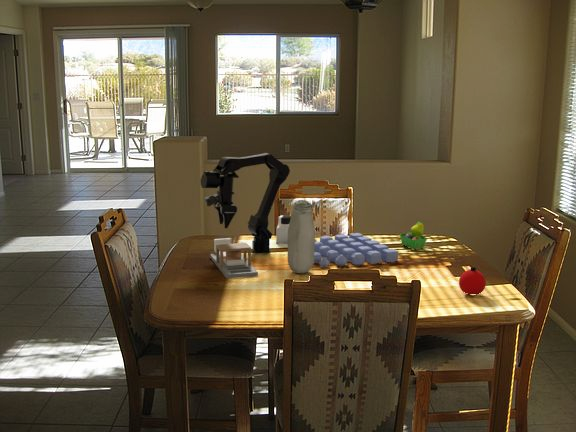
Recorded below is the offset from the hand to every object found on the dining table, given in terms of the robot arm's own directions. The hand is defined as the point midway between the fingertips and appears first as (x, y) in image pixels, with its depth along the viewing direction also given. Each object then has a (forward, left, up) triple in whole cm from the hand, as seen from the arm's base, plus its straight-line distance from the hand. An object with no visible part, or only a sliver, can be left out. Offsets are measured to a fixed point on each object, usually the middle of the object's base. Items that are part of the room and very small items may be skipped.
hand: (223, 226), depth 272 cm
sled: (0, +8, -11) cm, 14 cm away
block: (0, +16, -10) cm, 19 cm away
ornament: (-71, +72, -13) cm, 102 cm away
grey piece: (0, +16, -13) cm, 20 cm away
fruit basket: (-84, +7, -13) cm, 86 cm away
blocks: (-49, +10, -14) cm, 51 cm away
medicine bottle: (-32, -18, -13) cm, 40 cm away
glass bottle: (-23, +30, -13) cm, 40 cm away
